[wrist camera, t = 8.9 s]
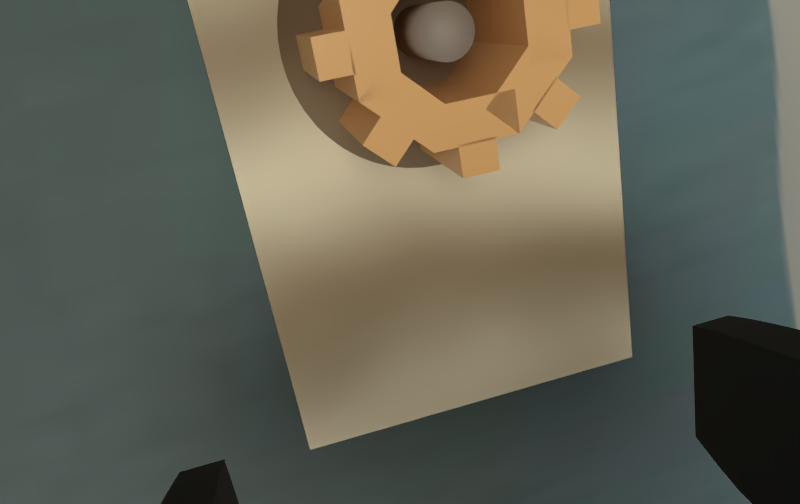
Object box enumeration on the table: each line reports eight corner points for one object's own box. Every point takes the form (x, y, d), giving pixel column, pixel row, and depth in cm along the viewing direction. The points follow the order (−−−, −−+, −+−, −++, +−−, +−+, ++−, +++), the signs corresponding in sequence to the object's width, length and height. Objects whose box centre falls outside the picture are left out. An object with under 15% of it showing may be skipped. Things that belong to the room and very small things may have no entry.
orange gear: (573, -3, 17) (653, -9, 13) (443, 190, 17) (489, 227, 14) (385, -163, 15) (427, -217, 11) (249, 63, 15) (251, 72, 12)
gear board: (615, 342, 21) (749, 455, 16) (307, 430, 20) (333, 589, 14) (555, -474, 14) (758, -796, 9) (72, -432, 13) (-57, -786, 7)
